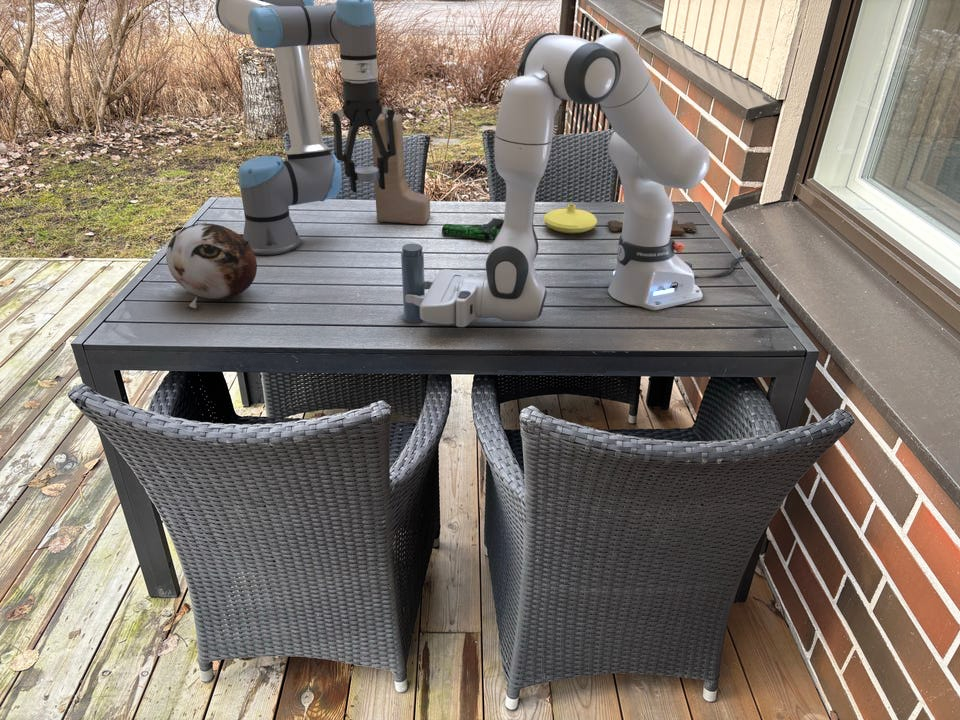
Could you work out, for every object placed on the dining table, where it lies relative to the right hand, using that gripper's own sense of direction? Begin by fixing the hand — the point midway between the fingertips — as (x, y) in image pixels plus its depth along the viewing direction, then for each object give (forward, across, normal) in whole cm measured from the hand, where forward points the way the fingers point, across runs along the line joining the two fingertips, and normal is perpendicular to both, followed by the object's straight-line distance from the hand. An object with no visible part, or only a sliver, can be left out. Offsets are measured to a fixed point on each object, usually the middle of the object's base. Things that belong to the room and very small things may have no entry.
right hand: (409, 291), depth 158 cm
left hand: (+12, -12, -18) cm, 26 cm away
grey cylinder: (-1, 0, +6) cm, 6 cm away
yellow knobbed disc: (-31, -64, +6) cm, 72 cm away
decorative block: (+19, -61, +6) cm, 64 cm away
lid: (+12, -12, -22) cm, 28 cm away
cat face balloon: (+47, -1, +6) cm, 48 cm away
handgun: (-5, -56, +6) cm, 56 cm away
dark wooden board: (-55, -69, +6) cm, 89 cm away
